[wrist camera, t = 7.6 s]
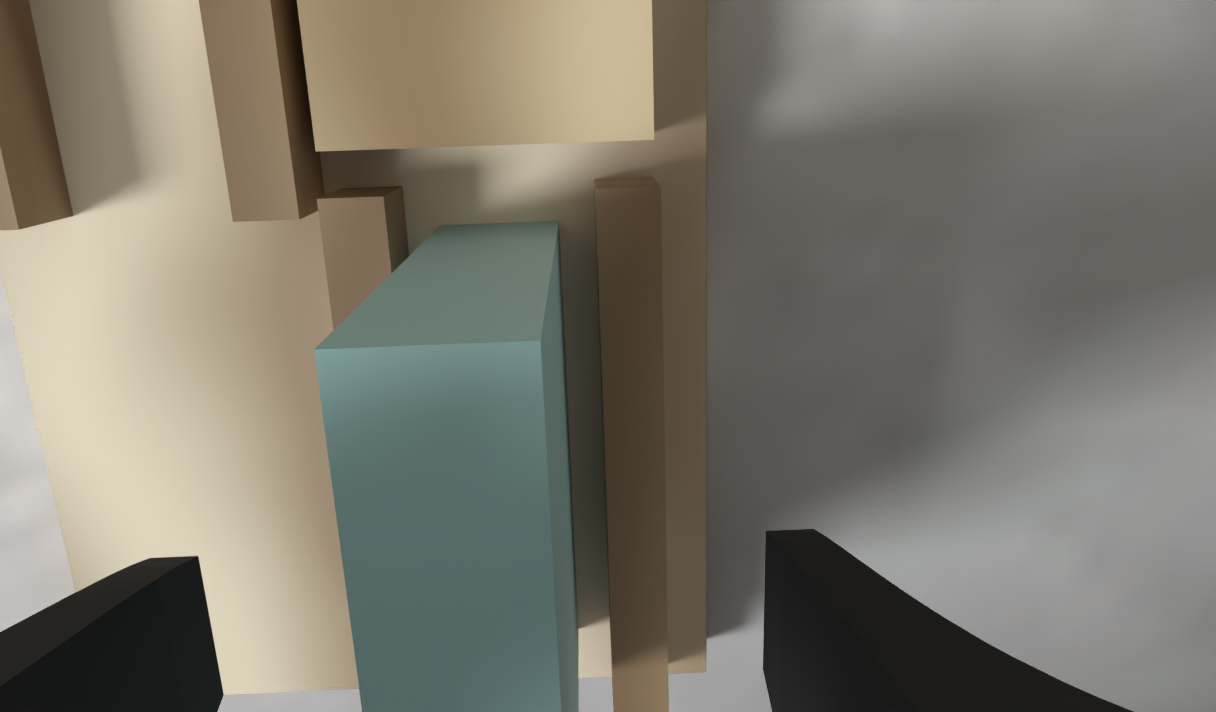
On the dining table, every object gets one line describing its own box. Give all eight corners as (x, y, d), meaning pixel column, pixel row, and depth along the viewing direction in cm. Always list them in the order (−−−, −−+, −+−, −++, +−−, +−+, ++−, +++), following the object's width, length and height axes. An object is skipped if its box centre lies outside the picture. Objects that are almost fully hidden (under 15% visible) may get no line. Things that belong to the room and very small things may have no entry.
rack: (697, -458, 13) (723, -579, 11) (700, 642, 19) (717, 723, 16) (-121, -441, 13) (-279, -561, 11) (126, 668, 18) (58, 755, 16)
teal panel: (559, 220, 15) (540, 340, 8) (578, 628, 17) (578, 1010, 10) (440, 225, 15) (313, 350, 8) (476, 633, 17) (403, 1019, 10)
